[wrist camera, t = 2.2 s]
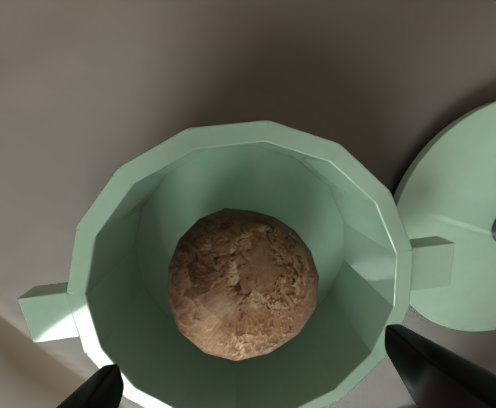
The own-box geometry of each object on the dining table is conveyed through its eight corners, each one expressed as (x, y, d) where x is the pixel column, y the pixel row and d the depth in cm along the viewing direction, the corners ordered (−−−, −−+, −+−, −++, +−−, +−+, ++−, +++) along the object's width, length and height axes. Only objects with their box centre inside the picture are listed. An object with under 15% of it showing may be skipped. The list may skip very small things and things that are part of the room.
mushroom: (227, 384, 13) (250, 441, 8) (147, 276, 15) (118, 257, 9) (311, 287, 17) (369, 278, 11) (239, 207, 18) (259, 162, 12)
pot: (387, 326, 17) (451, 398, 12) (113, 365, 17) (61, 460, 11) (395, 117, 14) (489, 97, 9) (52, 152, 13) (-63, 152, 8)
